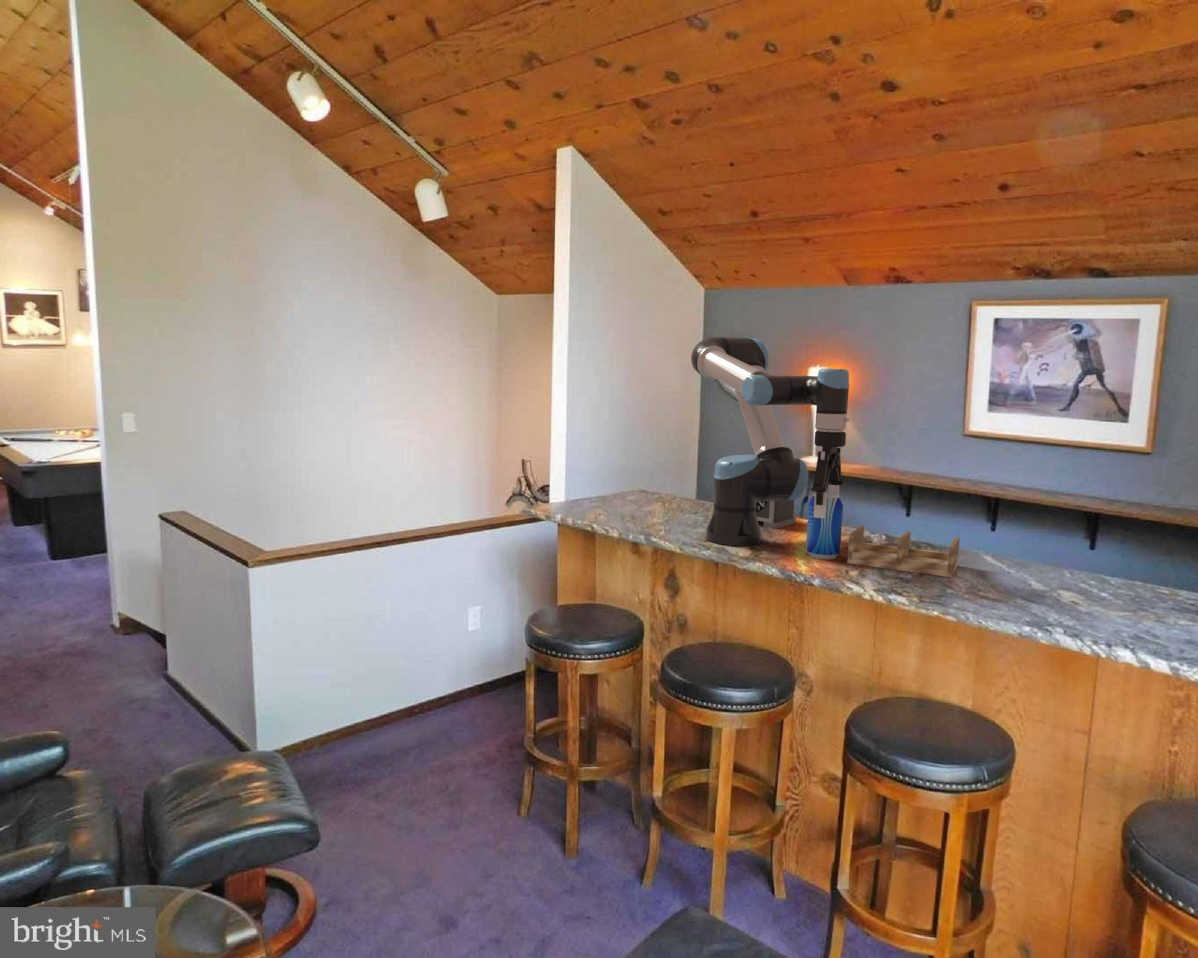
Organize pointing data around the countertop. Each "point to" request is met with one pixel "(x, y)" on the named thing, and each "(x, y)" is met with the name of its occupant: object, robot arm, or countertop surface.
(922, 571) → the rack
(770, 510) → the alarm clock
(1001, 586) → the countertop surface
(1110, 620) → the countertop surface
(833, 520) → the beer can
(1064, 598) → the countertop surface
